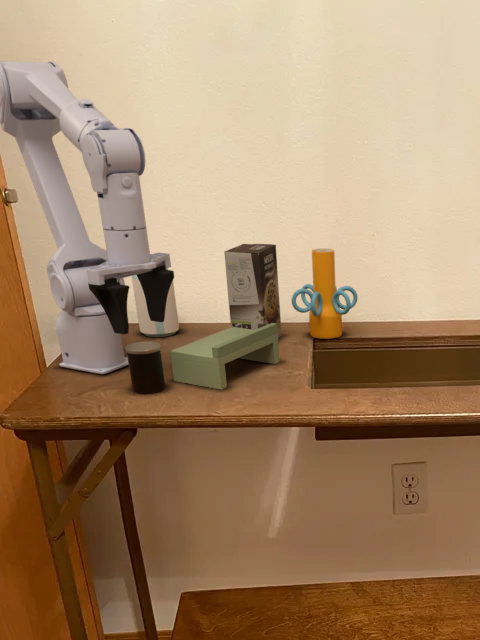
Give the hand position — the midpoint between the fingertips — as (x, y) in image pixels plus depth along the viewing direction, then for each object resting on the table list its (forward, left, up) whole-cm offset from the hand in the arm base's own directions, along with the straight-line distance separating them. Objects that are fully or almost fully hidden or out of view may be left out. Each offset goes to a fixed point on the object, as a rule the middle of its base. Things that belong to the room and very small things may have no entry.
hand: (139, 327), depth 116 cm
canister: (0, 0, -9) cm, 9 cm away
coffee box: (-1, +30, -10) cm, 31 cm away
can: (-20, +26, -10) cm, 33 cm away
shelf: (+5, +13, -9) cm, 17 cm away
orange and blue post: (+8, +39, -10) cm, 41 cm away
